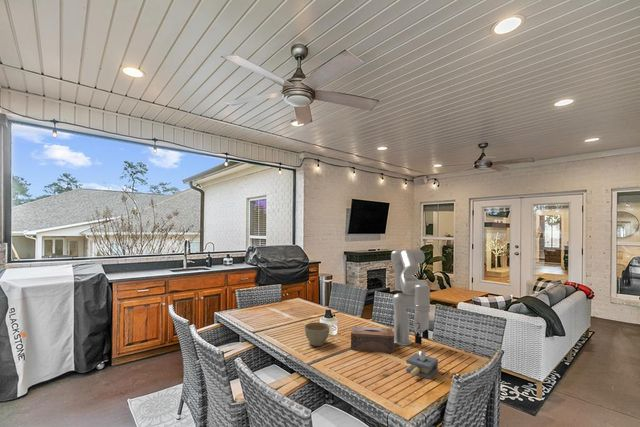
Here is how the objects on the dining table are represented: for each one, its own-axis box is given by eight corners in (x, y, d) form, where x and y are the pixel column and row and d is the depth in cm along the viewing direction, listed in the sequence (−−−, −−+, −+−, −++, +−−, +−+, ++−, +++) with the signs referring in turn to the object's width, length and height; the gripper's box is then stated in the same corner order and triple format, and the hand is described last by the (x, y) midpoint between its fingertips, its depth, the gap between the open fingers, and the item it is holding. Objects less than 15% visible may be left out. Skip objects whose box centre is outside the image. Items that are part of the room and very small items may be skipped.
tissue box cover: (392, 344, 200) (392, 328, 201) (394, 353, 186) (394, 335, 186) (351, 341, 204) (352, 325, 204) (350, 349, 190) (350, 333, 190)
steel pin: (418, 371, 161) (418, 351, 162) (420, 369, 164) (420, 350, 164) (424, 373, 159) (424, 353, 160) (426, 371, 162) (426, 351, 162)
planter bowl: (299, 345, 195) (299, 327, 196) (312, 337, 209) (312, 321, 210) (322, 350, 187) (322, 331, 188) (333, 341, 202) (334, 324, 202)
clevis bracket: (401, 376, 156) (401, 363, 156) (415, 364, 170) (415, 353, 170) (425, 383, 148) (425, 370, 149) (437, 370, 162) (437, 359, 163)
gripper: (421, 303, 172) (421, 334, 172) (408, 310, 159) (408, 344, 158) (435, 306, 167) (434, 338, 167) (423, 313, 154) (422, 347, 154)
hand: (421, 340), depth 163 cm, fingers open, 9 cm apart
